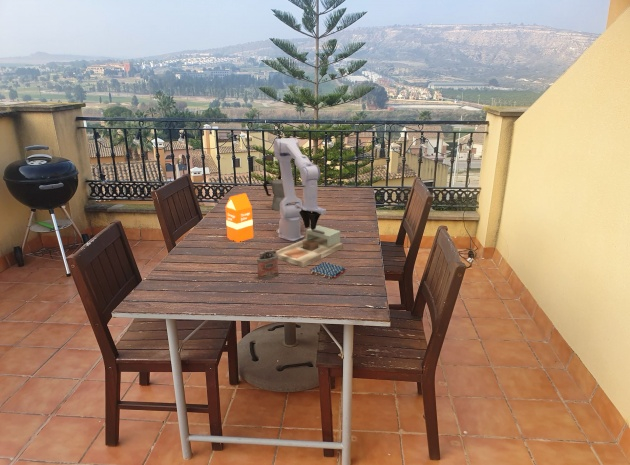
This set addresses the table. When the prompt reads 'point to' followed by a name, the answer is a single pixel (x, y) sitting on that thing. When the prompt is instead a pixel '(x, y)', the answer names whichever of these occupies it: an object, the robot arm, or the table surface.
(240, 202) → the orange juice
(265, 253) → the lighter
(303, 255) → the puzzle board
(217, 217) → the table surface
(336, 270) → the woven mat
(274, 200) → the coffeepot
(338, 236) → the slide cover
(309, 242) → the walnut block
